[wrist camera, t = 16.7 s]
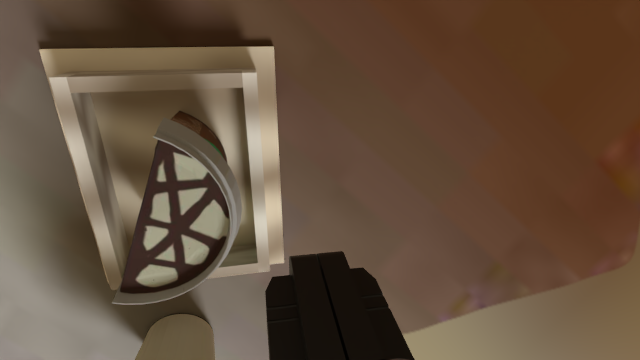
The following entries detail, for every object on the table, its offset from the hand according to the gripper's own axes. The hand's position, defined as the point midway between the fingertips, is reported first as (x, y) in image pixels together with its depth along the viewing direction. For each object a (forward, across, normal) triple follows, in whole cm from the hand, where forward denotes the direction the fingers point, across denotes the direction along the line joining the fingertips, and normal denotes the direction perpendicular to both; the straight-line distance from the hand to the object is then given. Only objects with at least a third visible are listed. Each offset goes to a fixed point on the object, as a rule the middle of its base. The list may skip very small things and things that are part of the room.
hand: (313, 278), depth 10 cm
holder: (+22, +7, +6) cm, 23 cm away
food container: (+21, +6, +6) cm, 23 cm away
